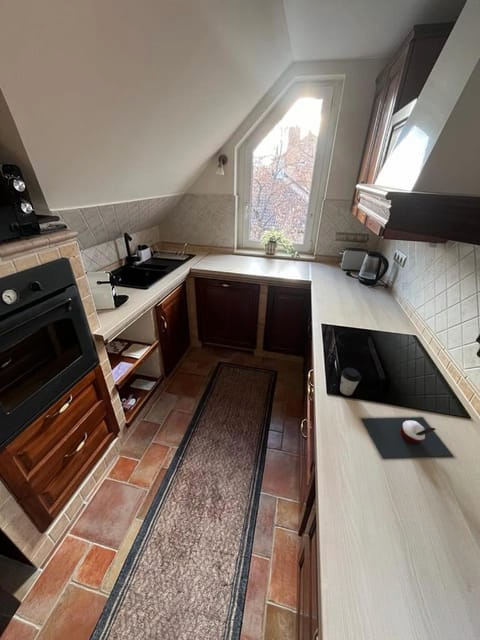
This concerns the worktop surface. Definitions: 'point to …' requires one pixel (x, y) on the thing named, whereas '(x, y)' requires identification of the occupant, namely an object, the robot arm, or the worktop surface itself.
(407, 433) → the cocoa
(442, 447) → the mat
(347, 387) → the coffee cup
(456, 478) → the worktop surface
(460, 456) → the worktop surface
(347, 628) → the worktop surface
